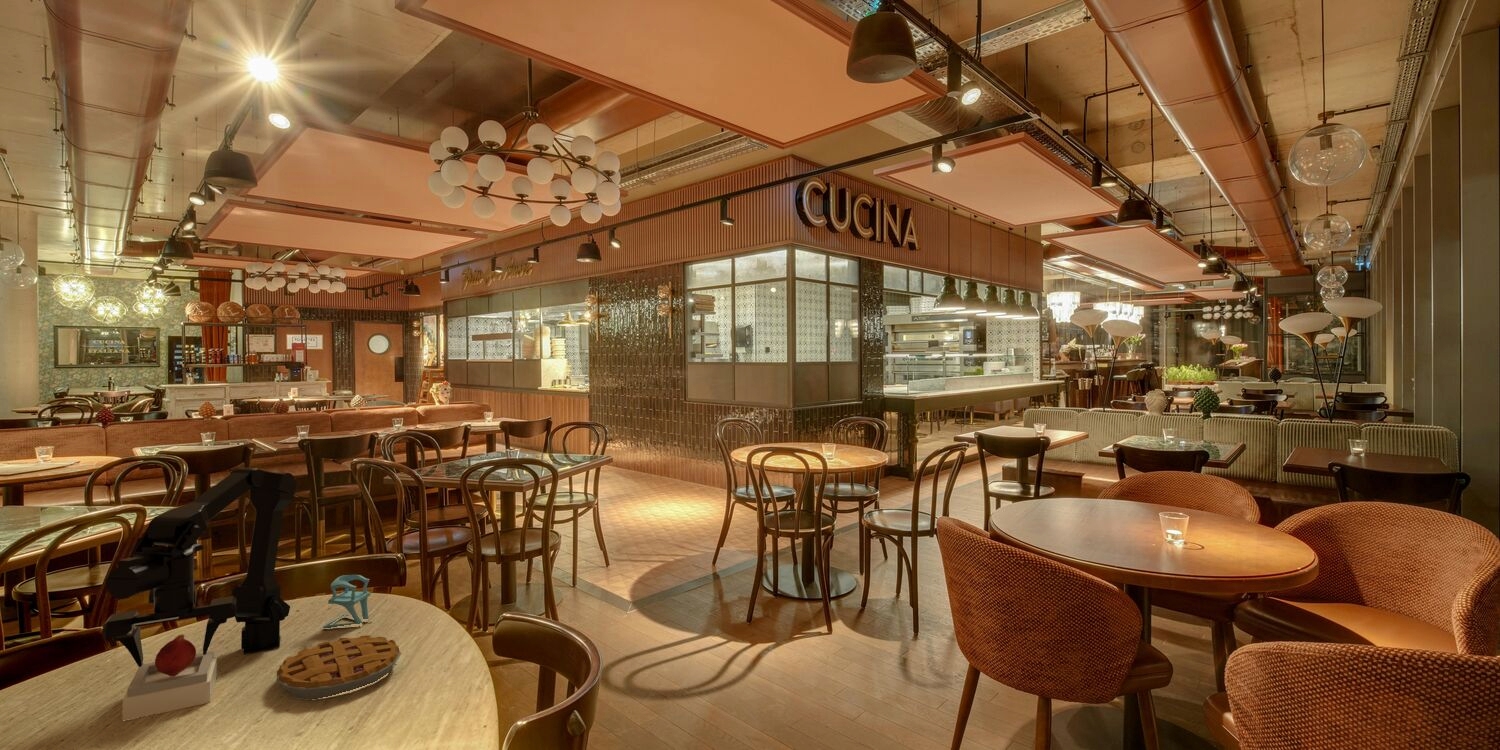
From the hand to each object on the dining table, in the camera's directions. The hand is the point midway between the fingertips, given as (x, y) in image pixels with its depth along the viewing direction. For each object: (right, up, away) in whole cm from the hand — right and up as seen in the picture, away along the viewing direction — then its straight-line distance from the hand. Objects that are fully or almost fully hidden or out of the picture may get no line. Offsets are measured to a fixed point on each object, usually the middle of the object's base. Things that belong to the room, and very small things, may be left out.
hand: (173, 659), depth 122 cm
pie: (+26, -8, +10) cm, 29 cm away
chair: (+12, -7, +35) cm, 38 cm away
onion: (0, -3, 0) cm, 3 cm away
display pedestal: (0, -7, 0) cm, 7 cm away
